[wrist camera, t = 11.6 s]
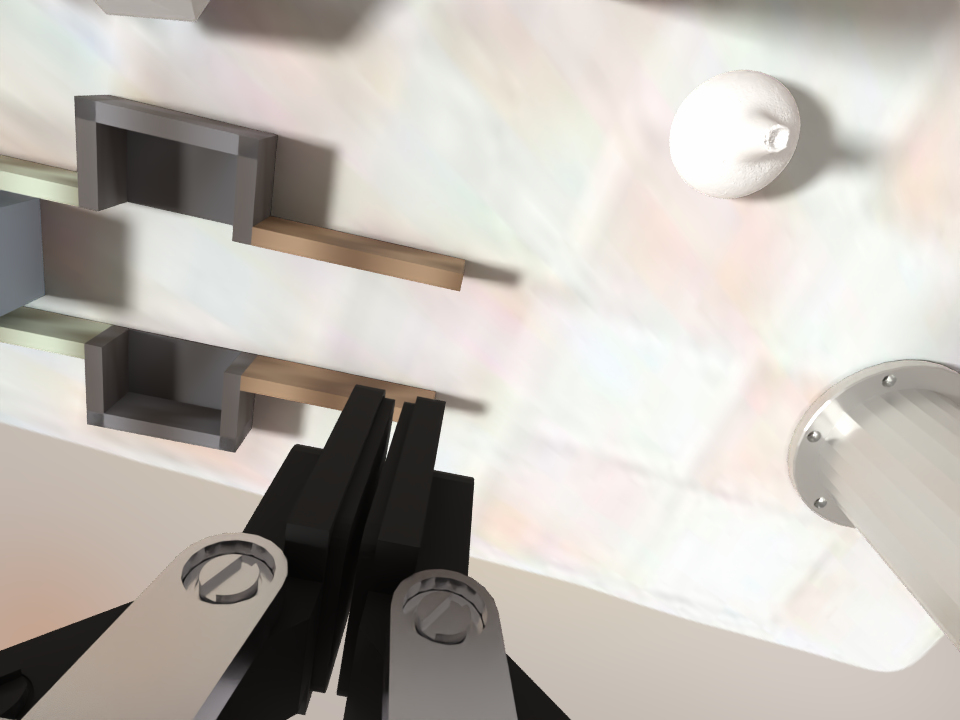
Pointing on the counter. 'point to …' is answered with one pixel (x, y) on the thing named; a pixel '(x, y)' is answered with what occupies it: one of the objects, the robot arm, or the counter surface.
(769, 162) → the garlic bulb
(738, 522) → the counter surface
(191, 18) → the grey faceted solid
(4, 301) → the block
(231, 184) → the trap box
